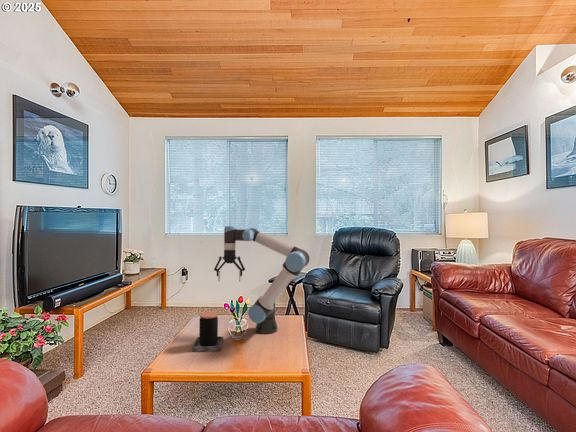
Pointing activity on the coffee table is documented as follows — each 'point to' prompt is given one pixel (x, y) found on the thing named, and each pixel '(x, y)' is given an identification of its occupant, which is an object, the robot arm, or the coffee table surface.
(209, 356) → the coffee table surface
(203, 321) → the coffee jar
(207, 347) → the jar stand
